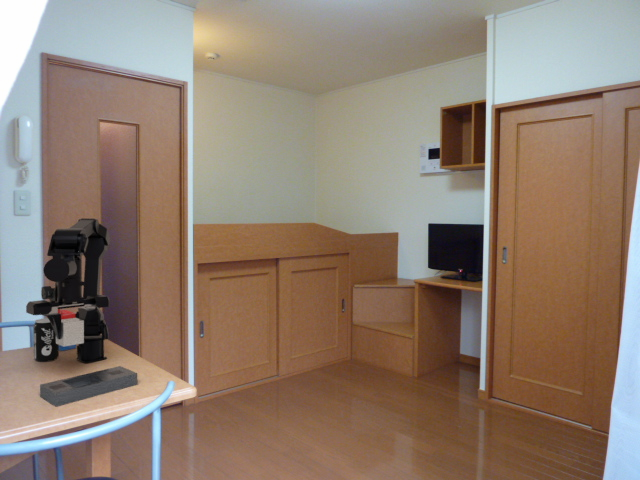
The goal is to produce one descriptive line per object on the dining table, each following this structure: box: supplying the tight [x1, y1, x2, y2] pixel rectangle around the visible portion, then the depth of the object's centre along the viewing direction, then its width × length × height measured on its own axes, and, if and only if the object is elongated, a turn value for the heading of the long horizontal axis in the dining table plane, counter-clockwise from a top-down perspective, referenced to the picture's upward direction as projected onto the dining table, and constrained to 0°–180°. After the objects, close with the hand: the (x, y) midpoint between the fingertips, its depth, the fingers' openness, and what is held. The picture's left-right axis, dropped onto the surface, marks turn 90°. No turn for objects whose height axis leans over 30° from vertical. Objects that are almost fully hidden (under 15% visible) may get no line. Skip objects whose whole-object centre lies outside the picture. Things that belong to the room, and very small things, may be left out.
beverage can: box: [32, 317, 60, 363], centre depth 147 cm, size 7×7×12 cm
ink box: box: [58, 309, 77, 352], centre depth 160 cm, size 8×5×15 cm, turn 47°
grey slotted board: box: [39, 365, 138, 407], centre depth 121 cm, size 20×9×3 cm, turn 140°
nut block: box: [56, 318, 84, 347], centre depth 126 cm, size 5×5×6 cm
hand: (69, 337), depth 126 cm, fingers closed on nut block, 5 cm apart
